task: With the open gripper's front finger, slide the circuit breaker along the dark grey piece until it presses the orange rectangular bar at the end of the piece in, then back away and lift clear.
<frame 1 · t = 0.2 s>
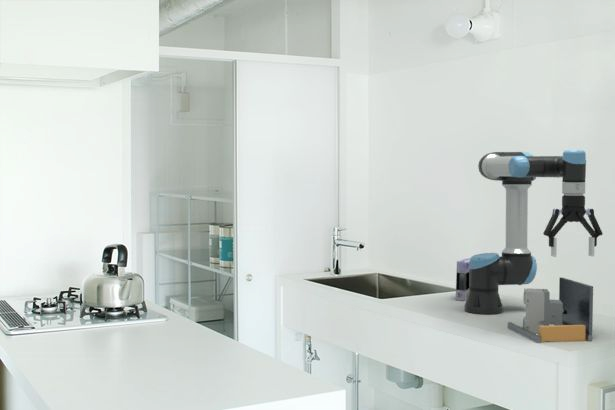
hand: (572, 256, 267), 28 cm above the counter, tool pointing down, fingers open, 13 cm apart
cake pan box: (467, 298, 346), on the counter
dark grey piece: (547, 334, 270), on the counter
orange rectangular bar: (562, 333, 259), point 2 cm above the counter, slide at 0.0 cm
circuit breaker: (544, 333, 272), on the counter
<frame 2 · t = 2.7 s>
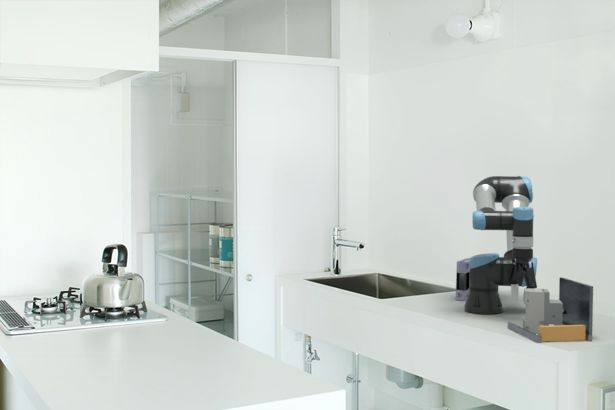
hand: (521, 304, 291), 7 cm above the counter, tool pointing down, fingers open, 13 cm apart
nothing on the counter moved.
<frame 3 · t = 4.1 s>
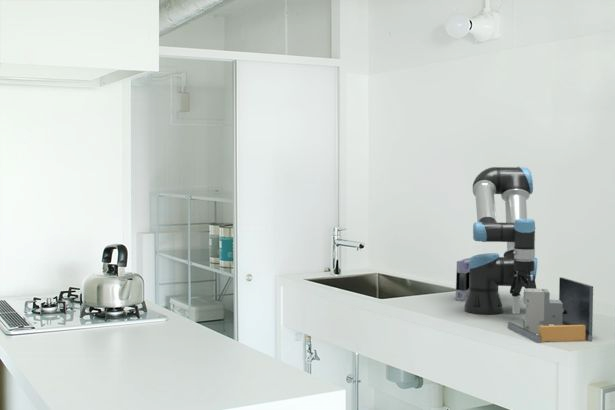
hand: (523, 316, 290), 2 cm above the counter, tool pointing down, fingers open, 13 cm apart
nothing on the counter moved.
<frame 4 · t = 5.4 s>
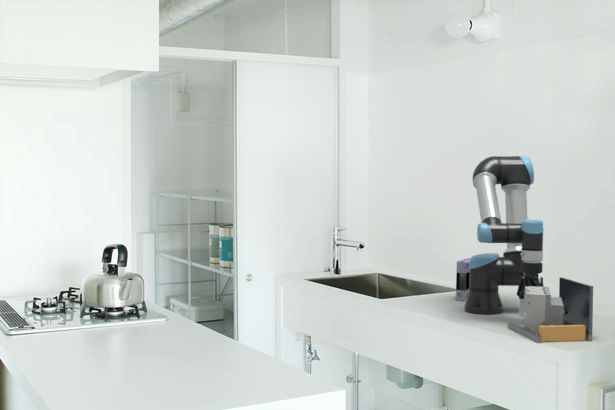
hand: (530, 319, 283), 3 cm above the counter, tool pointing down, fingers open, 13 cm apart
circuit breaker: (544, 331, 272), point 1 cm above the counter, touching gripper, hand
everything else where it was.
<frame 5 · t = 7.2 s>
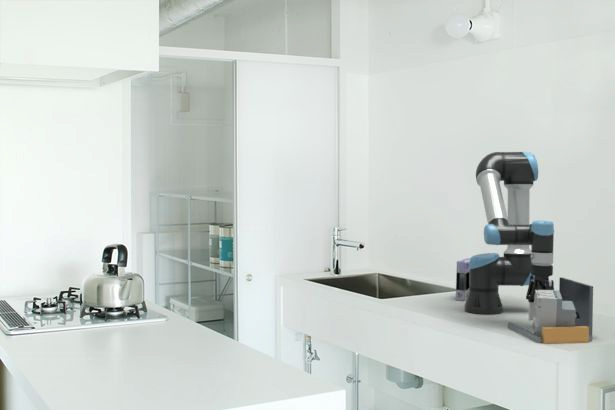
hand: (540, 323, 275), 3 cm above the counter, tool pointing down, fingers open, 13 cm apart
orange rectangular bar: (565, 334, 257), point 2 cm above the counter, slide at 2.3 cm, touching circuit breaker
circuit breaker: (555, 335, 264), point 1 cm above the counter, touching gripper, hand, orange rectangular bar
everything else where it was.
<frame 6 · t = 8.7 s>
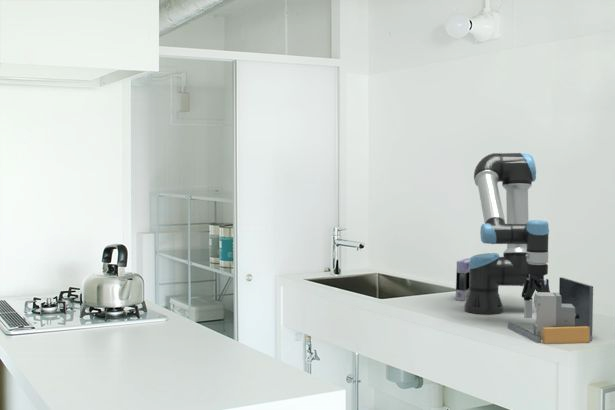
hand: (536, 321, 279), 2 cm above the counter, tool pointing down, fingers open, 13 cm apart
orange rectangular bar: (566, 334, 257), point 2 cm above the counter, slide at 2.7 cm
circuit breaker: (556, 338, 264), on the counter
everything else where it was.
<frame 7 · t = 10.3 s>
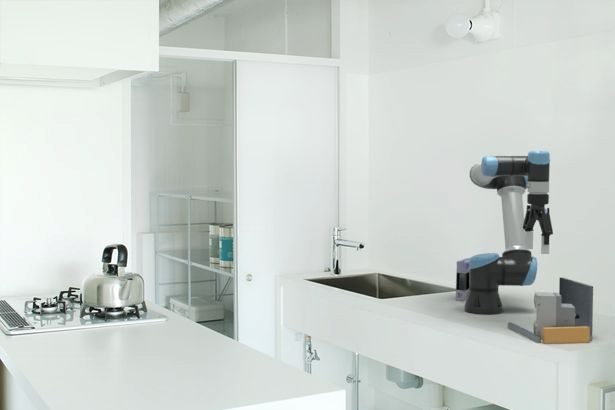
hand: (536, 251, 282), 28 cm above the counter, tool pointing down, fingers open, 13 cm apart
nothing on the counter moved.
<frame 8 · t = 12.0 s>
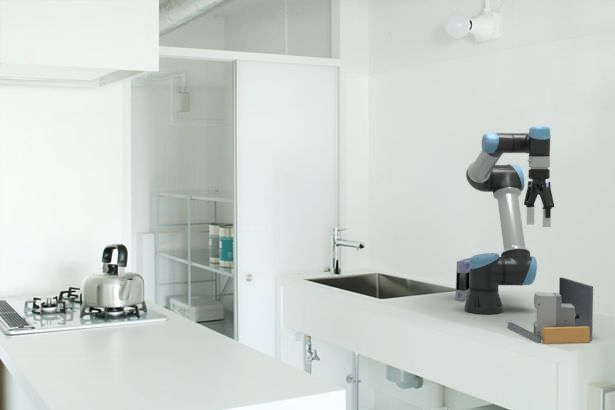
hand: (538, 225, 286), 37 cm above the counter, tool pointing down, fingers open, 13 cm apart
nothing on the counter moved.
at the end: orange rectangular bar slide at 2.7 cm; circuit breaker inside the target area on the dark grey piece (3.0 cm from its centre), point 0.0 cm above the dark grey piece's base; circuit breaker tilted 0° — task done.
